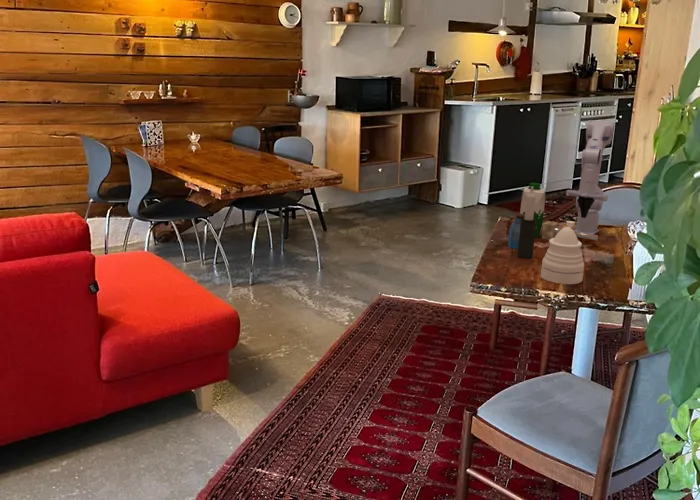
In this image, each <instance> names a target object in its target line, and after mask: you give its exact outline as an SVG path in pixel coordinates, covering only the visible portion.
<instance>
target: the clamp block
mask: <svg viewBox="0 0 700 500" xmlns="http://www.w3.org/2000/svg"><path fill="white" fill-rule="evenodd" d="M558 226H559V222H555V221H549V220H547V221H545V222H542V233H541V239H542V240H548V241H549V240H550V239H552V238H555V236H556V235H557V234H558V233H554V230H555V228H559V227H558Z"/></svg>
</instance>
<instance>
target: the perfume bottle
mask: <svg viewBox="0 0 700 500" xmlns="http://www.w3.org/2000/svg"><path fill="white" fill-rule="evenodd" d="M515 216H516V217H515V219H514V220H515V221H513V222H512V223H511V225H509V227H508V237H507V238H508V239H507V245H508V247H509V249H511V250H513V249H514V250H518V243H519V233H520V223H521V219H522V218H524V217H525V215H524V214H520V213H516V214H515Z"/></svg>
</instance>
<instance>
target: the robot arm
mask: <svg viewBox="0 0 700 500" xmlns="http://www.w3.org/2000/svg"><path fill="white" fill-rule="evenodd" d="M614 128H615V122H614V121H603V120H591V119H589V120H587V123H586V130H585V139H586V145H585V148H584V149H583V150H582V153H581V166H580V167H581V172H580V181H579V188H578V190H572V189H567V190H566V193H565V194H566V196H567V197H569V196H570V197H575V199H576V200H575V208H576V209H578V212H577V213H578V214H577V221H576V228H575V229H572V230H573V231H576V232H582V233H587V234H593V235H596V234H597V233H599V232H600V229H598V226H599V219H600V214H599V212H601V210H602V209H603V203H604V202H607V201H608V194H605V193H604V190H603V189H602V188H600V187H599V181H600V180H599V179H600V172H601V166H602V161H603V154H604V150H605V148H606V146H609V145H610V144H611V142H612V140H613V135H614Z"/></svg>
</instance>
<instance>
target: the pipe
mask: <svg viewBox="0 0 700 500" xmlns="http://www.w3.org/2000/svg"><path fill="white" fill-rule="evenodd" d="M561 229H562V228H559V227H558V228H555V230H554V233H557V234H558V232H559V231H560V230H561ZM574 232H575V234H576V236H577V238H580V239H585V240H592V241H597V242H598V239H599V234H594V235H593V234H587V233H582V232H576V231H574Z"/></svg>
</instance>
